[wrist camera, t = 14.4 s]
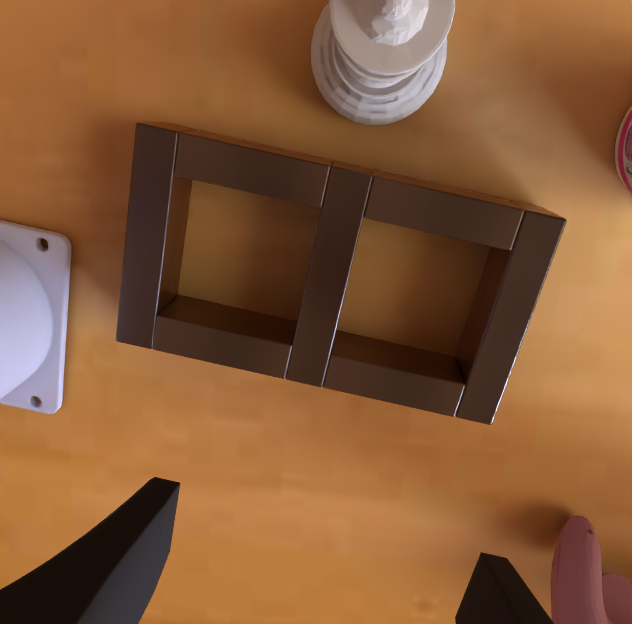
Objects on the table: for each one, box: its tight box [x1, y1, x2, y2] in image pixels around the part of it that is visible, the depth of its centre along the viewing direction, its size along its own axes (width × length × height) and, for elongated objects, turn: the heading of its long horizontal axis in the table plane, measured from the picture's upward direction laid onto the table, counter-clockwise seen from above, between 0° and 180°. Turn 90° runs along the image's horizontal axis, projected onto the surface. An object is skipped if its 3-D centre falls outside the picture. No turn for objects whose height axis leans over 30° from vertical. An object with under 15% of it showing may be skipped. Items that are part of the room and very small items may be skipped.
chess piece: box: [311, 0, 455, 126], centre depth 14 cm, size 4×4×10 cm
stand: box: [116, 122, 566, 425], centre depth 20 cm, size 14×8×2 cm, turn 78°
